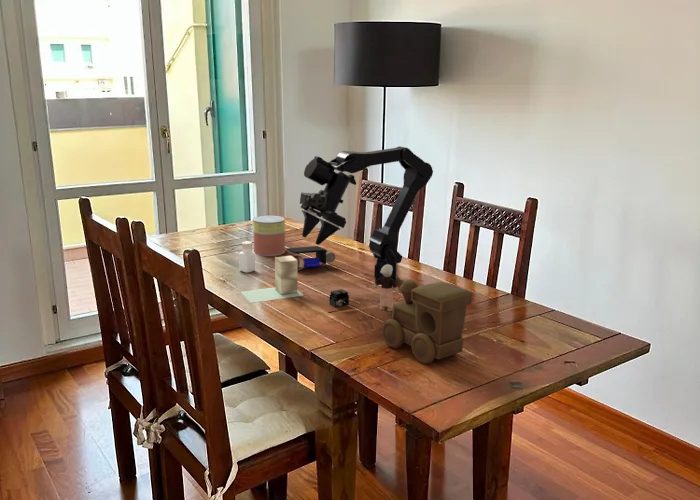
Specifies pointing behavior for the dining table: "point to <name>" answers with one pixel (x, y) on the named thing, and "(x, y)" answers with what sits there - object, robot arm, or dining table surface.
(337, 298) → the black boxy device
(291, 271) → the maple block
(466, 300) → the wooden toy train
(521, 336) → the dining table surface
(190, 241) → the dining table surface
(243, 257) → the pepper shaker
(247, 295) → the mat
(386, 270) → the grandmother figurine
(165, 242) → the dining table surface
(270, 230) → the canned food
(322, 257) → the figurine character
